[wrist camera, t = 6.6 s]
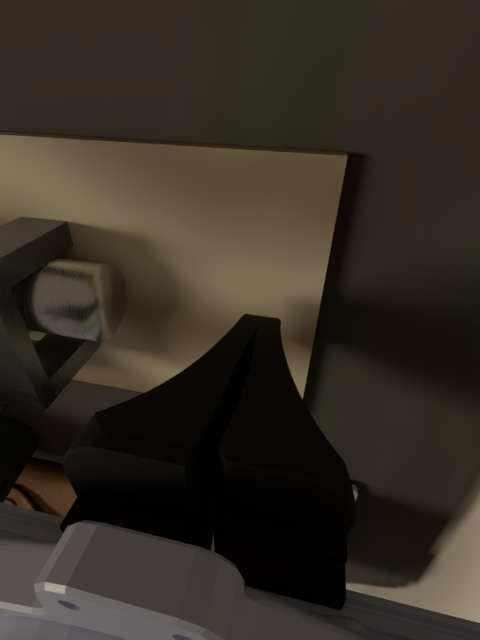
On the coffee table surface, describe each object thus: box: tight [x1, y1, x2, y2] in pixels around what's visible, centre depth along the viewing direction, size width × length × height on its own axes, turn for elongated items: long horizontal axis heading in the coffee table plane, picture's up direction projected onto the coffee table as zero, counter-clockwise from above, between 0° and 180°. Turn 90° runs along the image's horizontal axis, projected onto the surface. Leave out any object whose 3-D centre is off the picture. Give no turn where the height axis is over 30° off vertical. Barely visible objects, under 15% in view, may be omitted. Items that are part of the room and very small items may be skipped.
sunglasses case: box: [4, 457, 77, 518], centre depth 28 cm, size 18×7×7 cm
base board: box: [0, 132, 348, 399], centre depth 16 cm, size 12×22×1 cm, turn 89°
